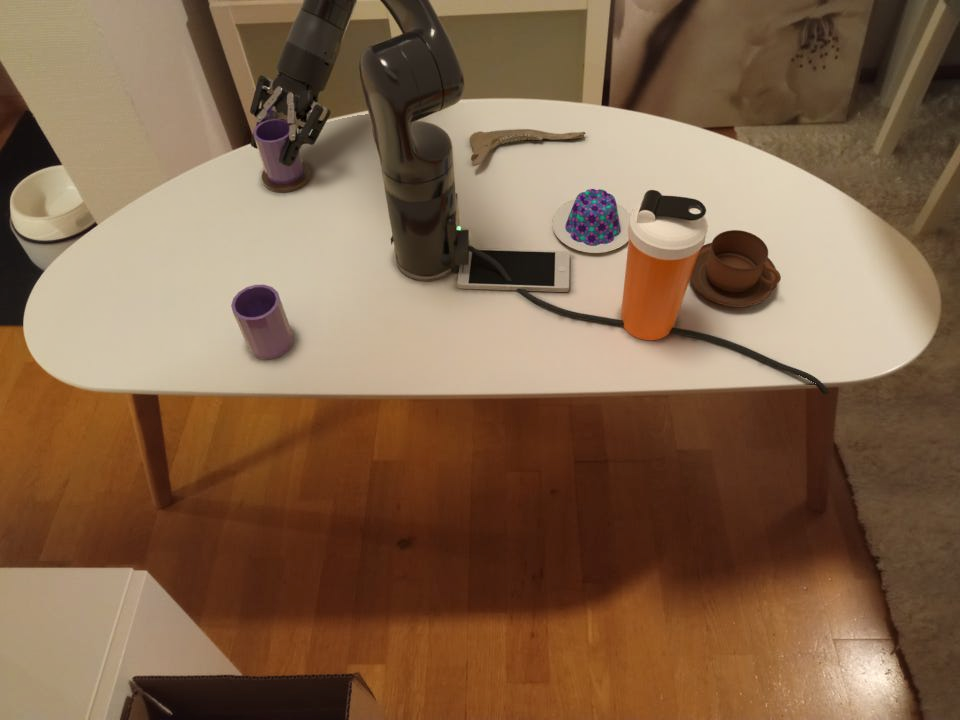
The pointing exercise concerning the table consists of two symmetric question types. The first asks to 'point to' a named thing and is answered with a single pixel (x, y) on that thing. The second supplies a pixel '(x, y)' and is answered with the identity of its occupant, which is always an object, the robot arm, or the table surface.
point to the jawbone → (490, 140)
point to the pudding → (592, 222)
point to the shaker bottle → (660, 261)
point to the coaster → (290, 186)
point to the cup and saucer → (735, 270)
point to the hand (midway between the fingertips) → (270, 155)
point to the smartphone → (517, 271)
